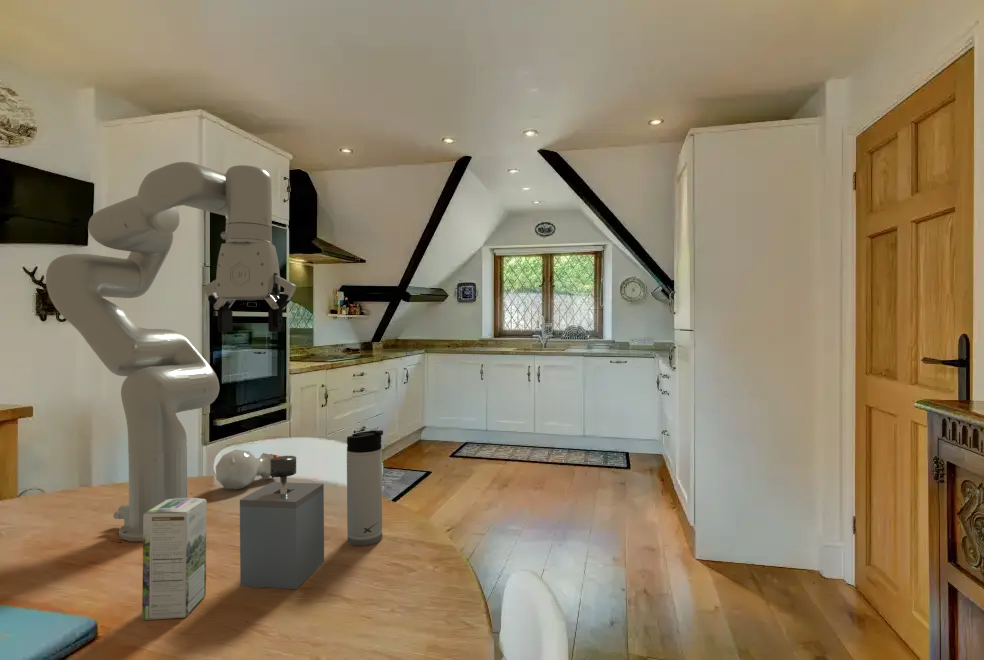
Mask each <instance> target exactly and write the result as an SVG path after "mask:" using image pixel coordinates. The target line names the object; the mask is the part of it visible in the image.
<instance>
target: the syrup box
mask: <svg viewBox="0 0 984 660" xmlns="http://www.w3.org/2000/svg"><path fill="white" fill-rule="evenodd" d="M206 574H207V499H205V498H198V497H197V498H196V497H187V498H175V499H168V500H166V501H164V502H162V503H161V504H159V505H157V506H156V507H154V508H152V509H151V510H149V511H147V512H146V513H144V515H143V541H142V598H141V606H142V609H141V614H142V615H141V619H142V620H144V621H148V620H149V621H150V620H151V621H152V620H167V619H168V620H169V619H180V618H187V617H188V616H189V614H191V612H192V611H194V609H195V608H196V607H197V606H198V605H199V603H201V601H202V600H203V599H204V598H205V597H206V595H207V594H206V593H207V592H206V591H207V590H206V589H207V587H206V586H207V575H206Z"/></svg>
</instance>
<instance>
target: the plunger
mask: <svg viewBox="0 0 984 660" xmlns="http://www.w3.org/2000/svg"><path fill="white" fill-rule="evenodd" d="M278 456H279V457H275V458H272V459H271V460H270V475H271V476H272V477H274V478H279V479H280V480H279V482H280V494H287V482H288V477H291V476H293V475H296V474H297V457H296V456H295V455H278ZM271 476H270V477H271ZM272 477H271V478H272Z"/></svg>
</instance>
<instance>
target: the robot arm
mask: <svg viewBox="0 0 984 660" xmlns="http://www.w3.org/2000/svg"><path fill="white" fill-rule="evenodd" d="M180 206H185V207H189V208H194V209H197V210H201V211H206V212H209V213H212V214H217V215H220V216H225V231H221V232H220V238H221V239H222V240H225V243H221V245H220V249H219V253H218V257H217V263H216V264H217V265H216V276H215V279H214V280H212V281H211V282H209V283H208V284H206V285H204V287H203V290H204V293H205V295H206V297H208V298H207V300H208V302H209V303H210V304H211V305H212V306H213V309H214V310H215V311H216V313H217V314H216V315H217V317H216V318H217V319H216V321H217V322H216V324H217V325H216V326H217V331H218V333H232V332H233V330H234V329H233V328H234V327H233V311H232V309H231V310H230V308H231V307H232V306H233V304H234V303H235V302H236V301H255V300H256V301H257V300H258V301H259V300H260V301H262V300H265V301H266V303H267V304H268V305H269V306H270V309H268V311H267V314H268V315H267V317H268V319H267V321H268V324H267V325H268V326H267V327H268V328H267V329H268V332H270V333H275V332H276V333H277V332H278V333H280V332H282V328H283V321H284V320H283V318H284V316H283V315H284V314H283V313H284V312H283V311H284V310H285V309H286V306H287V305H289V303H290V302H291V301H292V299H293V296H294V293H295V292H296V290H297V285H296V284H294V283H292V282H290V281H289V280H287V279H285V278H283V277H281V275H280V264H279V257H278V254H277V249H276V246H275V244H273V234H272V233H273V232H272V231H273V229H272V227H273V226H272V224H273V223H272V222H273V221H272V220H273V218H272V216H273V214H272V213H273V211H272V209H273V208H272V177H271V175H270V173H268V171H266V170H265V169H263V168H261V167H257V166H253V165H243V164H242V165H241V164H240V165H233V166H231V167H229V168H228V169H227V171H226V173H223V172H220V171H217V170H215V169H212V168H209V167H206V166H203V165H200V164H197V163H194V162H189V161H179V162H173V163H169V164H166V165H164V166H161V167H159V168H157V169H154V170H152V171H150V172H149V173H147V175H145V177H144V178H143V180H142V182H141V184H140V186H139V188H138V190H137V195H134V196H132V197H129V198H127V199H124V200H121V201H119V202H116V203H114V204H111V205H109V206H106V207H104V208H101V209H99V210H97V211H96V212H94V213H93V214H92V215H91V216H90V218H89V221H88V223H87V224H88V226H87V228H88V232H89V234H90V236H91V237H92V238H93V240H94V241H96V242H97V243H99V244H100V245H102V246H104V247H106V248H109V249H111V250H112V249H113V250H118V251H123V252H125V251H126V252H130V253H129V255H128V257H127V258H121V257H113V256H106V255H99V254H98V255H97V254H91V253H90V254H89V253H69V254H63V255H61V256H58V257H56V258H54V259H53V260H52V261H50V263H49V265H48V267H47V269H46V273H45V284H46V285H45V286H46V291H47V294H48V297H49V299H50V301H51V302H52V305H53V306H54V307H55V309H56V310H57V311H58V313H60V315H61V316H62V317H63V318H64V319H65V320H66V321H67V322H68V323H69V324H71V325H72V326H73V327H74V328H75V329H76V330H77V332H78V333H80V335H81V336H82V337H83V339H84V340H85V342H86V343H87V344H88V346H89V347H90V348H91V349H92V351H93V352H94V354H96V356H97V357H98V358H99V359H100V361H101V363H103V365H104V366H105V367H106V368H107V369H108V370H109V371H110V373H112V374H113V375H116V376H120V377H126V378H125V379H124V381H123V382H122V385H121V389H120V395H121V402H122V407H123V410H124V414H125V419H126V426H127V441H128V443H127V445H128V446H127V447H128V448H127V453H128V504H122V505H119V507H118V509H117V510H116V511H115V512H114V513H113V519H115V520H117V519H118V520H123V521H124V523H123V525H122V526H121V527H120V528H119V530H118V537H119V539H120V540H123V539H124V540H123V541H126V540H127V542H143V515H144V513H146V512H147V511H149V510H151V509H152V508H154V507H156V506H157V505H159V504H161V503H162V502H164V501H166V500H168V499H175V498H188V445H187V442H188V440H187V433H186V429H185V428H184V426H183V424H182V423H181V421H180V420H179V418H178V417H177V413H180V412H181V413H182V412H186V411H193V410H198V409H203V408H205V407H208V406H210V405H211V404H213V403H214V402H215V401H216V399H217V398H218V396H219V393H220V382H219V378H218V376H217V373H216V372H215V370H214V369H213V367H212V366H211V365H210V364H209V363H208V361H207V360H206V359H205V358H204V357H203V355H202V354H201V353H200V352H199V350H198V349H197V348H196V347H195V346H194V344H192V342H191V341H190V340H189V339H188V338H187V337H186V336H185V335H183V334H182V333H181V332H179V331H176V330H173V329H166V328H145V327H140V326H138V325H137V324H136V323H135V322H134V321H133V320H132V319H131V317H130V316H129V314H127V312H126V311H124V310H123V309H122V308H121V307H120V306H118V305H117V304H115V303H113V302H111V301H110V300H108V299H106V298H119V299H134V298H139V297H141V296H143V295H145V293H147V291H148V290H149V289H150V288H151V286H152V284H153V282H154V280H155V279H156V276H157V275H158V273H159V272H160V269H161V267H162V266H163V264H164V262H165V260H166V258H167V256H168V254H169V252H170V249H171V248H172V244H173V241H174V232H175V231H176V230H177V229H178V228H179V225H180V214H179V211H178V208H177V207H180ZM281 287H282V288H283V294H281ZM280 294H281V295H280Z"/></svg>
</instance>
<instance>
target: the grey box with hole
mask: <svg viewBox="0 0 984 660" xmlns="http://www.w3.org/2000/svg"><path fill="white" fill-rule="evenodd" d="M324 485H325V484H324V483H316V482H313V483H312V482H289V481H287V494H280V481H272V482H270V483H269V484H266V485H264V486H263V487H261V488H258V489H257V490H255V491H254V492H251V493H250V494H248V495H246V496H243V497H242V498H240V499H239V556H240V557H239V562H240V564H239V566H240V567H239V569H240V571H239V572H240V573H239V574H240V575H239V577H240V587H255V588H270V589H286V590H297V589H298V588H300V587H301V585H303V583H304V582H306V580H307V579H309V577H311V576H312V575H313V573H315V572H316V571H317V570H318V569H319V568H320V567H321V566H322V565H323V564H324V563H325V514H324V512H325V505H324V503H325V495H324V490H325V488H324Z"/></svg>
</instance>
